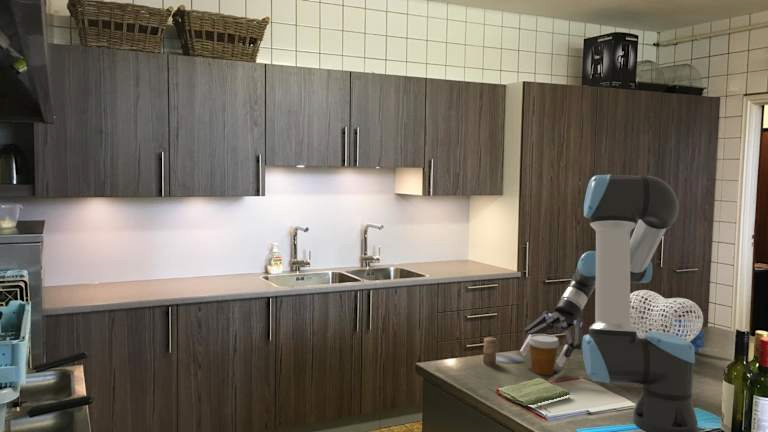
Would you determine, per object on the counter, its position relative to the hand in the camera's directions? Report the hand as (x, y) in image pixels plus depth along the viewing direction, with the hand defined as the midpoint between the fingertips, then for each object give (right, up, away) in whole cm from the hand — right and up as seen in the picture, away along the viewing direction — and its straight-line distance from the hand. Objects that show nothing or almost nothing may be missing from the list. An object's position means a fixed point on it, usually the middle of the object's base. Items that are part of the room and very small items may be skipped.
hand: (540, 358), depth 204 cm
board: (-8, -4, +11) cm, 14 cm away
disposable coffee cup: (+1, -5, +1) cm, 6 cm away
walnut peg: (-15, -3, +7) cm, 17 cm away
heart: (+46, -5, +23) cm, 52 cm away
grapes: (+59, -4, +30) cm, 67 cm away
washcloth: (-6, -7, -18) cm, 20 cm away
